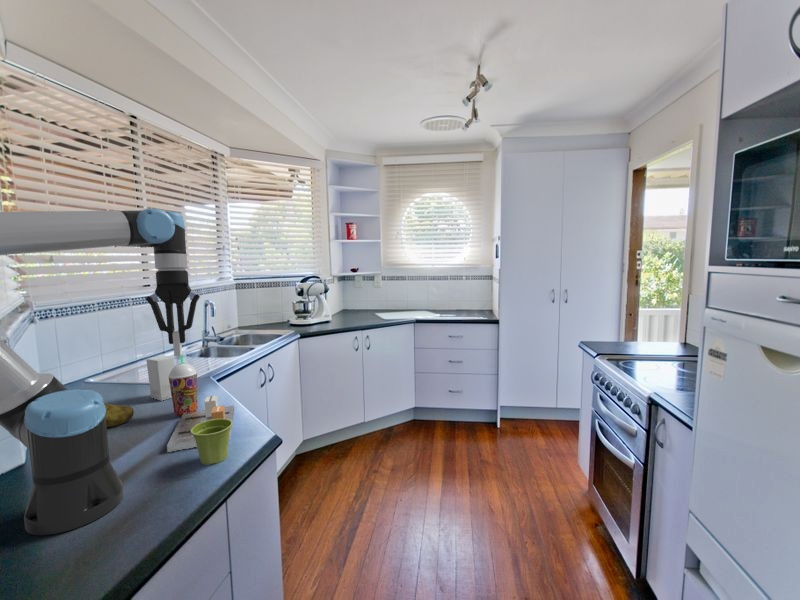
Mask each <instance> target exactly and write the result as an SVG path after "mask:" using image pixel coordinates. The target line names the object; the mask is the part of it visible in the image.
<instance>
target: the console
mask: <svg viewBox="0 0 800 600" xmlns="http://www.w3.org/2000/svg"><path fill="white" fill-rule="evenodd" d="M234 415H235V406H234V405H231V406H225V419H229V420H231V421H232V424H233V423H234ZM208 420H212V417H207V418H206V413H205V409H204V410H196V411H195V412H188V413H183V415H182V417H180V419H179V421H178V423H177V425H176V426H175V429H174V431H173V432H172V435H171V436H170V439H169V441H168V443H167V444H166V450H167V453H168V452H169V453H173V452H172V451H175V452H177V451H176V450H180V451H183V450H182V449H186V450H189V449H188V448H191V449H194V448H193V447H197V444H196V440H195V438H194V436H193V434H192V433H191V429H192V428H193V427H194V426H195V425H197V424H199V423H202V422H204V421H208ZM232 429H233V425H232V426H231V429H230V432H229V441H231V437H230V436H232Z"/></svg>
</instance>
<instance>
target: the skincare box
mask: <svg viewBox="0 0 800 600" xmlns="http://www.w3.org/2000/svg"><path fill="white" fill-rule="evenodd" d="M175 366H176V365H175V356H170V355H158V356H155V357H154V356H153V357H150V358H146V367H147V374H148V382H149V383H148V384H149V389H150V398H151V399H153V398H154V400H156V399H157V401H159V402H163V400H164V401H167V400H170V399H172V395H171V389H170V383H169V377H168V376H169V375H170V372H171V370H172V369H173V368H174V367H175ZM169 398H170V399H169ZM166 399H167V400H166Z"/></svg>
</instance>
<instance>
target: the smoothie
mask: <svg viewBox="0 0 800 600" xmlns="http://www.w3.org/2000/svg"><path fill="white" fill-rule="evenodd" d="M183 357H184V356H183V354H182V355H181V356H180V363H177V364H176V365H175V367H174V368H173V369H172V370H171V372H170V375H169V376H168V377H169V383H170V389H171V395H172V398H171V400H172V401H171V402H172V406H173V407H172V408H173V413H175V415H176V417H179V418H181V417H182V415H183V413H188V412H195V411H197V409H198V370H196V368H195V367H194V366H193V365H192V364H190V363H188V362H187V363H186V362H184V358H183Z"/></svg>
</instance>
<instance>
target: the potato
mask: <svg viewBox="0 0 800 600" xmlns="http://www.w3.org/2000/svg"><path fill="white" fill-rule="evenodd" d="M104 405H105V408H106V412H105V413H106V414H105V417H106V427H107V428H113V427H117V426H120V425H122V424H124V423H127V422H128V421H129V420H131V419H132V418H133V417H134V415H135V414H134V412H135V411H134V408H133V407H131V406H130V405H129V406H128V405H119V404H118V405H117V404H110V403H107V402H104Z"/></svg>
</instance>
